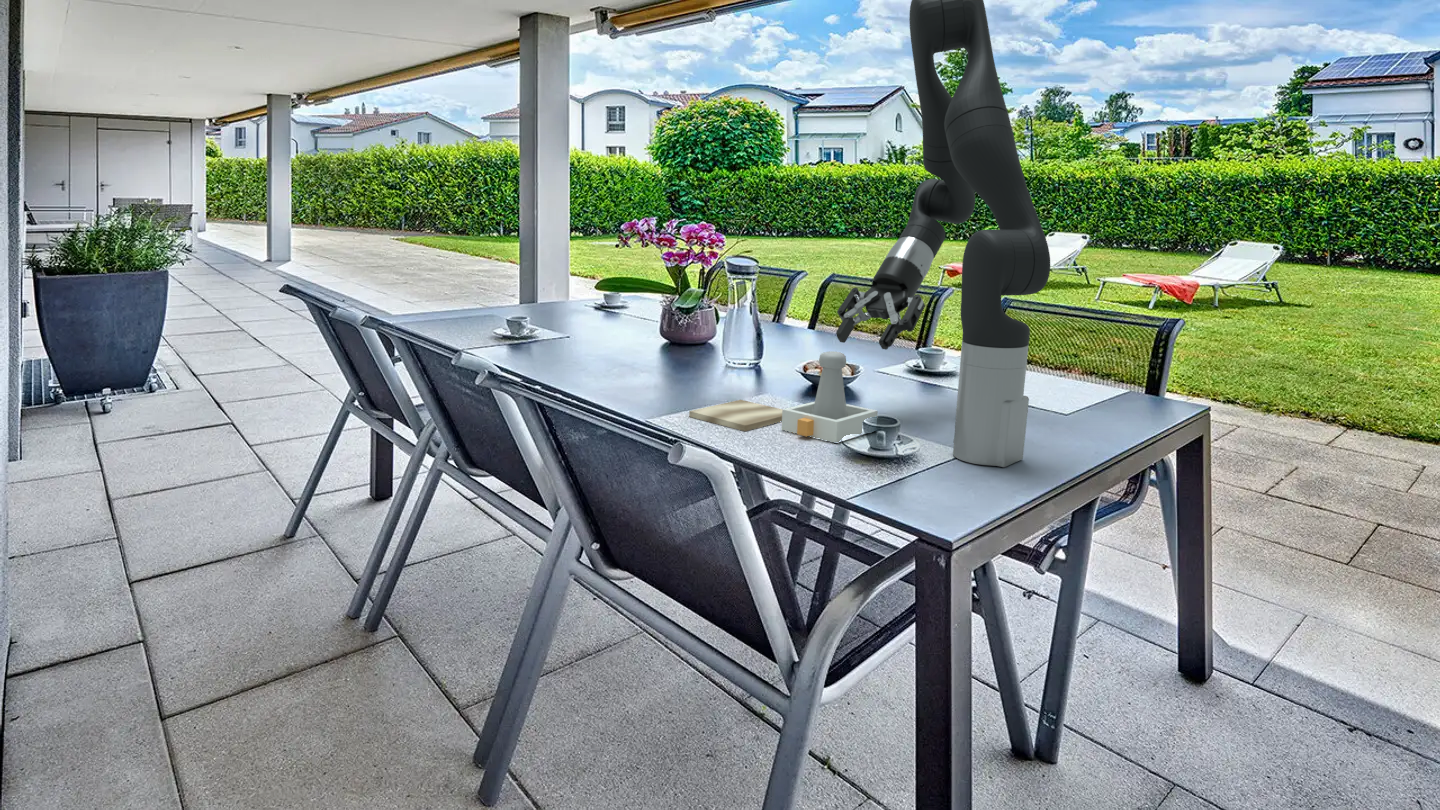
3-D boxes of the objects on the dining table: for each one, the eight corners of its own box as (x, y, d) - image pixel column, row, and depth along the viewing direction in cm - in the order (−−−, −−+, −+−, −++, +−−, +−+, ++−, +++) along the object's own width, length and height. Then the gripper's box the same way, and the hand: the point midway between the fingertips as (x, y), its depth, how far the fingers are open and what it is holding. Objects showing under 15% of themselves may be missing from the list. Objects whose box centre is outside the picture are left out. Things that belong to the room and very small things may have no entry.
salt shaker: (817, 436, 142) (820, 356, 139) (806, 427, 148) (810, 349, 145) (852, 434, 143) (856, 355, 140) (840, 425, 149) (844, 349, 146)
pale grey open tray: (876, 431, 146) (877, 410, 145) (829, 445, 137) (830, 423, 136) (822, 419, 153) (823, 399, 152) (775, 431, 144) (775, 410, 143)
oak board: (796, 418, 153) (796, 412, 153) (745, 431, 144) (745, 425, 144) (740, 404, 162) (740, 399, 162) (689, 416, 153) (689, 411, 153)
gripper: (861, 252, 155) (817, 323, 150) (933, 257, 146) (889, 334, 140) (876, 281, 160) (835, 351, 155) (947, 288, 151) (905, 363, 145)
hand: (860, 342), depth 148 cm, fingers open, 8 cm apart
